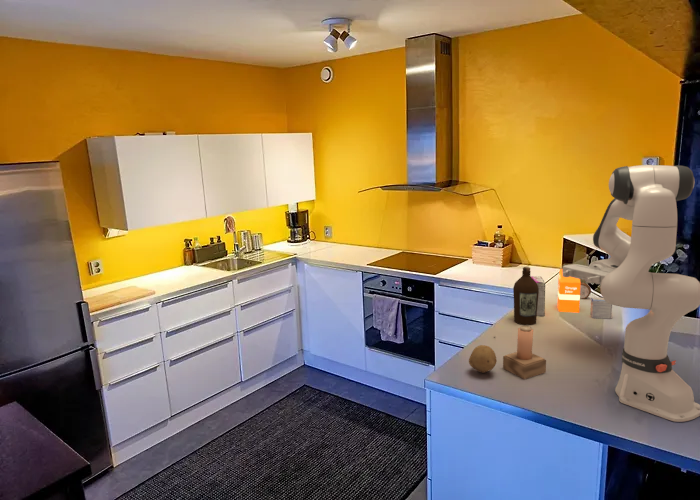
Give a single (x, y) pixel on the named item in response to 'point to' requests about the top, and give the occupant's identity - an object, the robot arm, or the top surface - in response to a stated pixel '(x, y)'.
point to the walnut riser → (524, 365)
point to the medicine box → (600, 308)
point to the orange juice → (568, 293)
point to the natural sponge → (482, 358)
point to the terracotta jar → (524, 342)
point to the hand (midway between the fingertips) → (575, 277)
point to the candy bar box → (540, 295)
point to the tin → (584, 290)
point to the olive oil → (525, 299)
